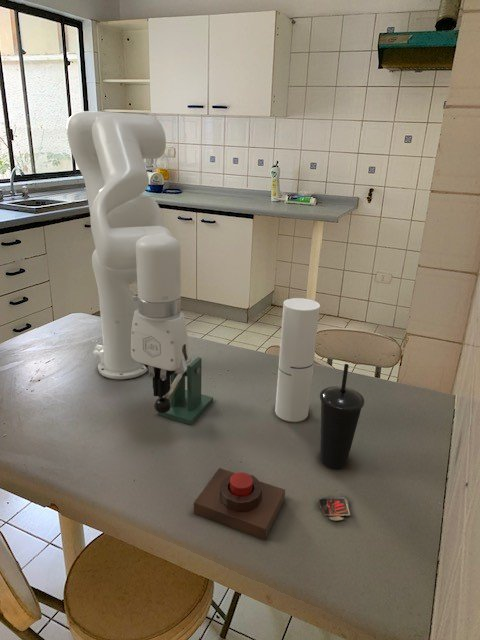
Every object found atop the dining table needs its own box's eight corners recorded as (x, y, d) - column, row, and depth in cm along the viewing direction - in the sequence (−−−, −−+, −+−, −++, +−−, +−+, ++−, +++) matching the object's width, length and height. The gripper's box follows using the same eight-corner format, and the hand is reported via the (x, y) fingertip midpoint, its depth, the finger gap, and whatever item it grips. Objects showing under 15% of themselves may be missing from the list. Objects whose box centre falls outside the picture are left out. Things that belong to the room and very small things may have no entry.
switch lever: (167, 418, 90) (163, 409, 88) (153, 414, 91) (149, 405, 89) (197, 369, 98) (194, 359, 96) (184, 365, 99) (180, 355, 97)
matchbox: (315, 501, 76) (315, 498, 76) (343, 496, 77) (344, 493, 77) (327, 522, 72) (328, 520, 72) (357, 517, 73) (357, 514, 73)
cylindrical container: (306, 423, 96) (319, 312, 87) (273, 418, 98) (281, 308, 88) (309, 405, 103) (320, 300, 94) (277, 401, 104) (285, 296, 95)
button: (225, 492, 72) (226, 483, 71) (235, 478, 75) (235, 469, 75) (247, 500, 71) (247, 491, 70) (255, 485, 74) (256, 476, 73)
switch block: (193, 513, 73) (193, 493, 71) (219, 477, 80) (219, 459, 79) (265, 540, 68) (266, 519, 67) (284, 500, 76) (286, 480, 75)
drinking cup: (327, 479, 81) (340, 379, 74) (304, 453, 88) (315, 358, 80) (363, 468, 84) (379, 371, 77) (338, 444, 90) (351, 352, 83)
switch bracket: (191, 425, 95) (190, 374, 90) (157, 415, 97) (156, 365, 93) (213, 401, 103) (214, 354, 99) (182, 393, 106) (181, 346, 102)
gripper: (112, 304, 82) (118, 393, 89) (185, 320, 77) (185, 413, 84) (137, 292, 89) (140, 376, 96) (206, 306, 83) (204, 394, 90)
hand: (161, 393), depth 90 cm, fingers closed
